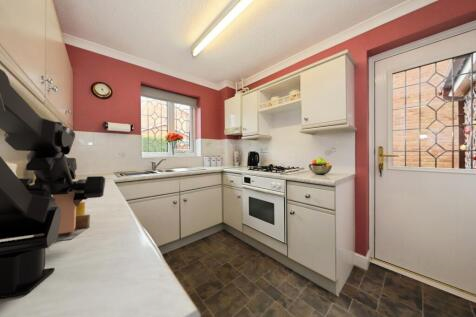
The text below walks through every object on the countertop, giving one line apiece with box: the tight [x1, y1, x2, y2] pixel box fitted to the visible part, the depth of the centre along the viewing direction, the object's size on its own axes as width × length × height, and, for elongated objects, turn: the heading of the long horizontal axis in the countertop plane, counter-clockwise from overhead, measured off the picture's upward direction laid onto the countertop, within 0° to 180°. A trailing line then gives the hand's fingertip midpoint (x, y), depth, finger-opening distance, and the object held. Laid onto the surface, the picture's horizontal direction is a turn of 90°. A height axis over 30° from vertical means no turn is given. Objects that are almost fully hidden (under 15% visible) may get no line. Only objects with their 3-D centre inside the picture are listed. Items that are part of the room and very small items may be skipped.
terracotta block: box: [52, 190, 76, 234], centre depth 50 cm, size 4×4×13 cm
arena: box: [33, 214, 91, 242], centre depth 50 cm, size 9×9×4 cm
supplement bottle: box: [76, 200, 86, 215], centre depth 62 cm, size 5×5×10 cm
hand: (66, 206), depth 51 cm, fingers closed on terracotta block, 5 cm apart
